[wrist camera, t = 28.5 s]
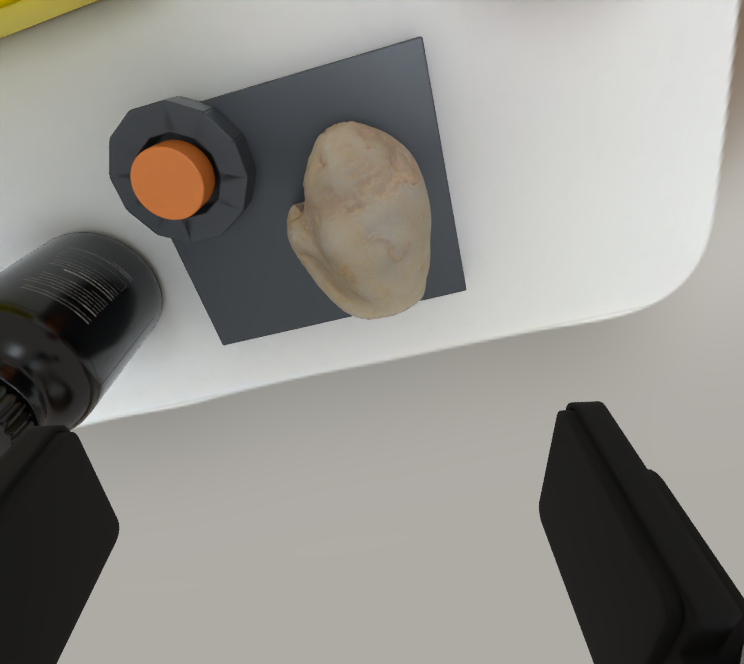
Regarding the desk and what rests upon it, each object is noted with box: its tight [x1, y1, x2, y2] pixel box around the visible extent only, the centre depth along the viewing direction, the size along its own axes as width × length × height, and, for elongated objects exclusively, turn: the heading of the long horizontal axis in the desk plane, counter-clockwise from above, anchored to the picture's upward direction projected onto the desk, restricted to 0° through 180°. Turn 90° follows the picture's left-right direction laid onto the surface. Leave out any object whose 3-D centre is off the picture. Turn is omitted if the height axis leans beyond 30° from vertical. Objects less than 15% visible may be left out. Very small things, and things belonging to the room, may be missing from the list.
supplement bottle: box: [0, 233, 162, 458], centre depth 22 cm, size 7×7×12 cm
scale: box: [109, 37, 466, 345], centre depth 24 cm, size 14×12×3 cm
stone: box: [287, 121, 431, 319], centre depth 22 cm, size 7×6×8 cm
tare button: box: [130, 139, 215, 220], centre depth 21 cm, size 3×3×2 cm
